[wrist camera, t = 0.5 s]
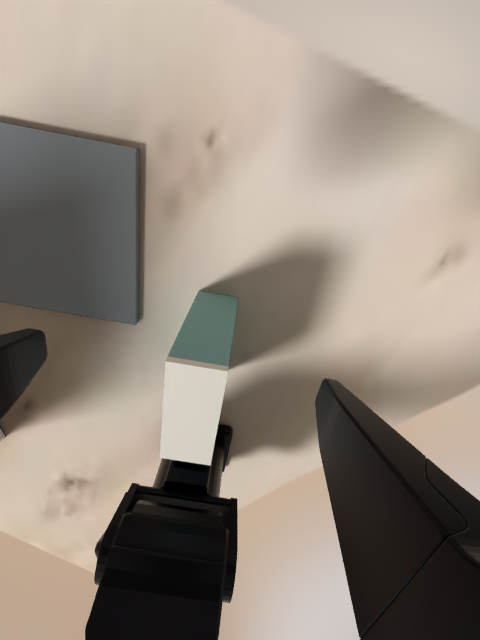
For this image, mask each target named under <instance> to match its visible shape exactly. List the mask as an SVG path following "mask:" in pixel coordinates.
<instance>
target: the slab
mask: <svg viewBox="0 0 480 640" xmlns="http://www.w3.org/2000/svg"><path fill="white" fill-rule="evenodd" d="M237 304H238V297H232V296H227V295H221V294H215V293H210V292H204V291H198V293H197V296H196V298H195V300H194V302H193V304H192V306H191V308H190V310H189V312H188V315H187V317H186V319H185V321H184V323H183V325H182V327H181V329H180V332H179V334H178V336H177V338H176V340H175V342H174V344H173V346H172V348H171V351H170V353H169V355H168V357H167V359H166V361H165V378H164V394H163V411H162V428H161V445H160V458H164V459H171V460H177V461H184V462H190V463H197V464H203V465H209V466H211V460H212V455H213V450H214V444H215V439H216V434H217V429H218V423H219V418H220V413H221V407H222V402H223V397H224V391H225V386H226V381H227V375H228V370H229V362H230V355H231V348H232V340H233V333H234V326H235V319H236V311H237Z"/></svg>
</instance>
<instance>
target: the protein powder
mask: <svg viewBox="0 0 480 640" xmlns="http://www.w3.org/2000/svg"><path fill="white" fill-rule="evenodd" d="M4 438H5V435H4V434H3V432H2V430H1V429H0V441H1V440H3V439H4Z"/></svg>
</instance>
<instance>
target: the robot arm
mask: <svg viewBox="0 0 480 640" xmlns="http://www.w3.org/2000/svg"><path fill="white" fill-rule="evenodd" d="M46 358H47V346H46V339H45V334H44V332H43V331H41V330H35V329H24V330H20V331H16V332H11V333H7V334H3V335H0V420H1V418H2V417H3V416H4V415H5V414H6V413H7V411H8V410H9V409H10V408H11V407H12V406H13V404H14V403H15V402H16V401H17V400H18V398H19V397H20V396H21V394H22V393H23V392H24V390H25V389H26V387H27V386H28V385H29V383H30V382H31V380H32V379H33V377H34V376H35V375H36V373H37V372H38V370H39V369H40V368H41V366H42V365H43V363H44V362H45V360H46ZM315 407H316V418H317V428H318V439H319V448H320V453H321V458H322V463H323V468H324V472H325V477H326V482H327V487H328V491H329V496H330V501H331V506H332V510H333V515H334V520H335V524H336V529H337V533H338V539H339V543H340V548H341V553H342V557H343V562H344V567H345V571H346V576H347V581H348V586H349V591H350V595H351V600H352V604H353V610H354V614H355V619H356V624H357V628H358V633H359V637H360V638H361V639H360V640H480V501H479V500H478V499H476V498H475V497H474V496H473V495H471V494H470V493H469V492H468V491H466V490H465V489H464V488H462V487H461V486H460V485H459V484H458V483H456V482H455V481H454V480H453V479H452V478H450V477H449V476H448V475H447V474H445V473H444V472H443V471H442V470H441V469H440V468H438V467H437V466H436V465H435V464H434V463H433V462H431V461H430V460H429V459H428V458H426V457H425V456H424V455H423V454H422V453H421V452H420V451H418V449H416V448H415V447H414V446H413V445H412V444H411V443H409V442H408V441H407V440H406V439H405V438H403V437H402V436H401V435H400V434H399V433H398V432H397V431H395V430H394V429H393V428H392V427H391V426H390V425H388V424H387V423H386V422H385V421H384V420H383V419H381V418H380V417H379V416H378V415H377V414H376V413H374V412H373V411H372V410H371V409H370V408H369V407H367V406H366V405H365V404H364V403H363V402H362V401H360V400H359V399H358V398H357V397H356V396H355V395H353V394H352V393H351V392H350V391H349V390H348V389H346V388H345V387H344V386H343V385H342V384H341V383H339V382H338V381H337V380H333V379H327V378H325V379H324V380H323V381H322V383H321V386H320V389H319V391H318V394H317V397H316V401H315ZM226 431H228V432H226ZM232 432H233V429H232V428H231V427H229V426H223V425H218V429H217V434H216V439H215V444H214V450H213V455H212V460H211V466H209V465H203V464H197V463H190V462H184V461H177V460H171V459H164V458H162V460H161V463H160V466H159V470H158V473H157V476H156V479H155V482H154V485H153V487H148V486H141V485H139V484H136V483H132V485H131V487H130V489H129V490H128V492H126V493H125V495H124V497H123V499H122V501H121V503H120V505H119V507H118V509H117V511H116V513H115V514H114V516H113V518H112V520H111V522H110V524H109V526H108V528H107V530H106V531H105V533H104V534H103V535H102V537H101V538H100V540H99V541H98V543H97V545H96V548H95V554H96V557H97V566H96V571H95V578H94V579H95V584H98V585H99V587H98V590H97V593H96V597H95V600H94V603H93V606H92V610H91V613H90V616H89V619H88V622H87V625H86V630H85V639H86V640H218V635H219V626H220V618H221V609H222V602H227V603H230V602H231V598H232V594H233V588H234V582H235V573H236V562H237V499H235V498H231V499H227V498H220V497H219V493H220V485H221V476H222V472H224V469H225V464H226V460H227V456H228V451H229V447H230V442H231V438H232Z"/></svg>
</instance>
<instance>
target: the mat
mask: <svg viewBox="0 0 480 640" xmlns="http://www.w3.org/2000/svg"><path fill="white" fill-rule="evenodd" d="M138 299H139V149H137V148H132V147H127V146H122V145H117V144H111V143H106V142H101V141H96V140H91V139H85V138H80V137H75V136H70V135H65V134H59V133H54V132H49V131H44V130H38V129H33V128H28V127H23V126H18V125H12V124H7V123H2V122H0V302H5V303H10V304H16V305H22V306H28V307H34V308H40V309H46V310H51V311H57V312H63V313H69V314H75V315H81V316H87V317H92V318H98V319H104V320H110V321H116V322H122V323H128V324H133V325H136V324H137V322H138Z"/></svg>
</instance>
